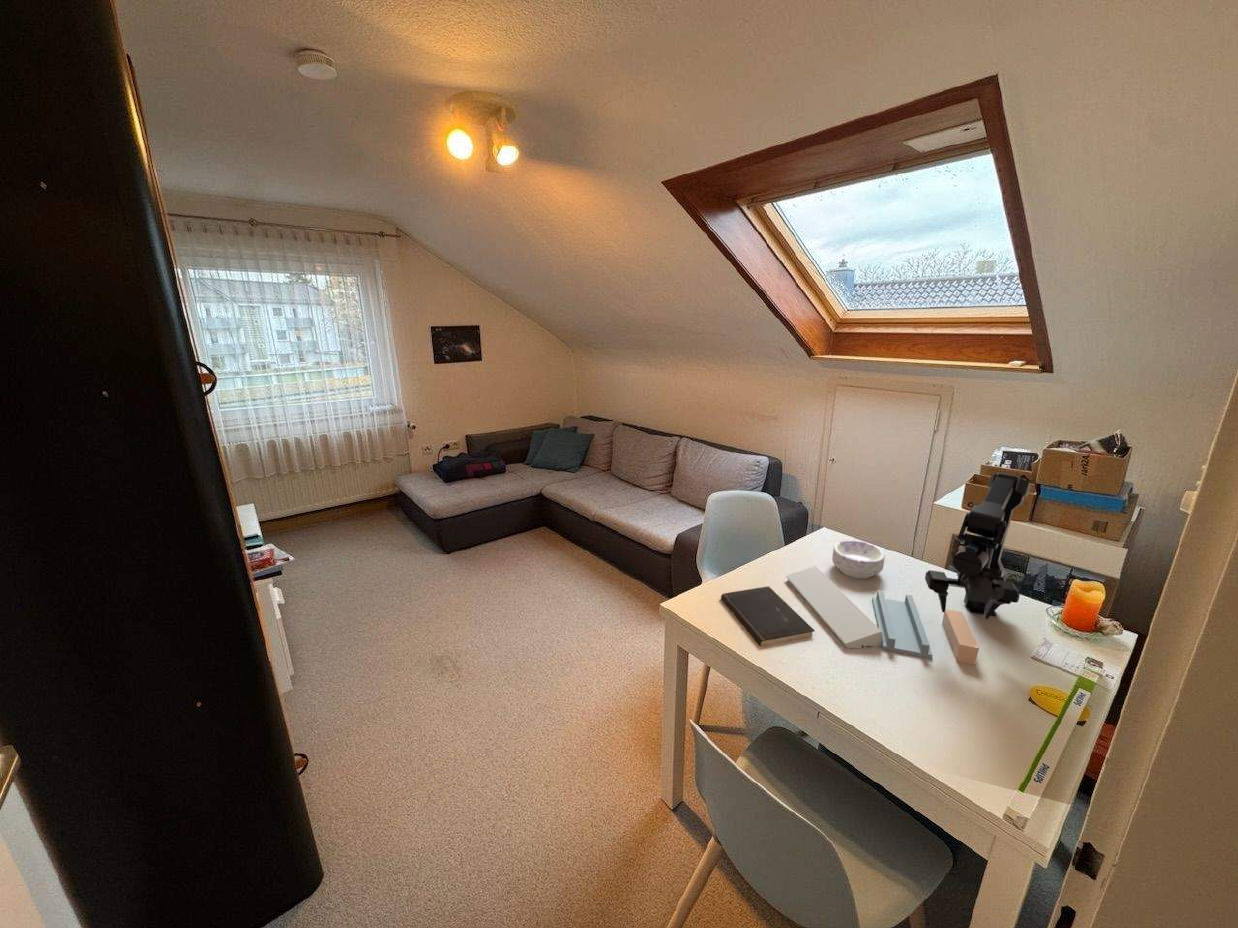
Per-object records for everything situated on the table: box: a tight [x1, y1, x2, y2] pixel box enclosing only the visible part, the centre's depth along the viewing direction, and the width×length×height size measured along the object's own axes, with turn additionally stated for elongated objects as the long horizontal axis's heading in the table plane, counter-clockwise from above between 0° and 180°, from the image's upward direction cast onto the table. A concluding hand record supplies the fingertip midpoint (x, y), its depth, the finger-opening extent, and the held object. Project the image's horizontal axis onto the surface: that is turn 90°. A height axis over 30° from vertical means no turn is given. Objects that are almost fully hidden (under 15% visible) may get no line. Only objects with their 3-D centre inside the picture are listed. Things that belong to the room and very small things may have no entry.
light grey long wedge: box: [785, 565, 883, 650], centre depth 144 cm, size 34×5×10 cm
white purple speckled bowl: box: [831, 539, 886, 579], centre depth 164 cm, size 15×15×8 cm
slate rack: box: [871, 589, 933, 659], centre depth 136 cm, size 11×24×4 cm, turn 160°
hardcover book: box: [720, 586, 815, 647], centre depth 142 cm, size 16×23×2 cm
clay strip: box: [941, 608, 980, 666], centre depth 129 cm, size 4×16×5 cm, turn 159°
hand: (963, 615), depth 127 cm, fingers open, 9 cm apart
